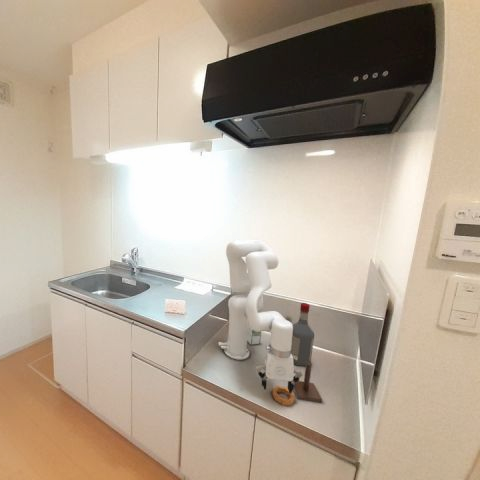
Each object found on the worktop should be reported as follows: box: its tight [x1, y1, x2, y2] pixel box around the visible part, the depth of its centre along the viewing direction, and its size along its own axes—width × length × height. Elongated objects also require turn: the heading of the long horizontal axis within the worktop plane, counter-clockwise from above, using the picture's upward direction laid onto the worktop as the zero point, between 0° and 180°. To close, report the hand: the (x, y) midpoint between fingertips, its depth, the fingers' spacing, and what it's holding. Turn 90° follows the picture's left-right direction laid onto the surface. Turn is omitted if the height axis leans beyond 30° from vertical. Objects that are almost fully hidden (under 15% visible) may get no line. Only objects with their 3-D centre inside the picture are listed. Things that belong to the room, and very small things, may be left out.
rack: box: [292, 362, 323, 403], centre depth 105 cm, size 9×9×14 cm
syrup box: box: [247, 322, 262, 346], centre depth 141 cm, size 6×6×14 cm
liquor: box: [291, 302, 315, 367], centre depth 124 cm, size 9×9×30 cm
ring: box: [272, 385, 296, 406], centre depth 104 cm, size 8×8×2 cm
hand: (276, 389), depth 103 cm, fingers open, 9 cm apart
